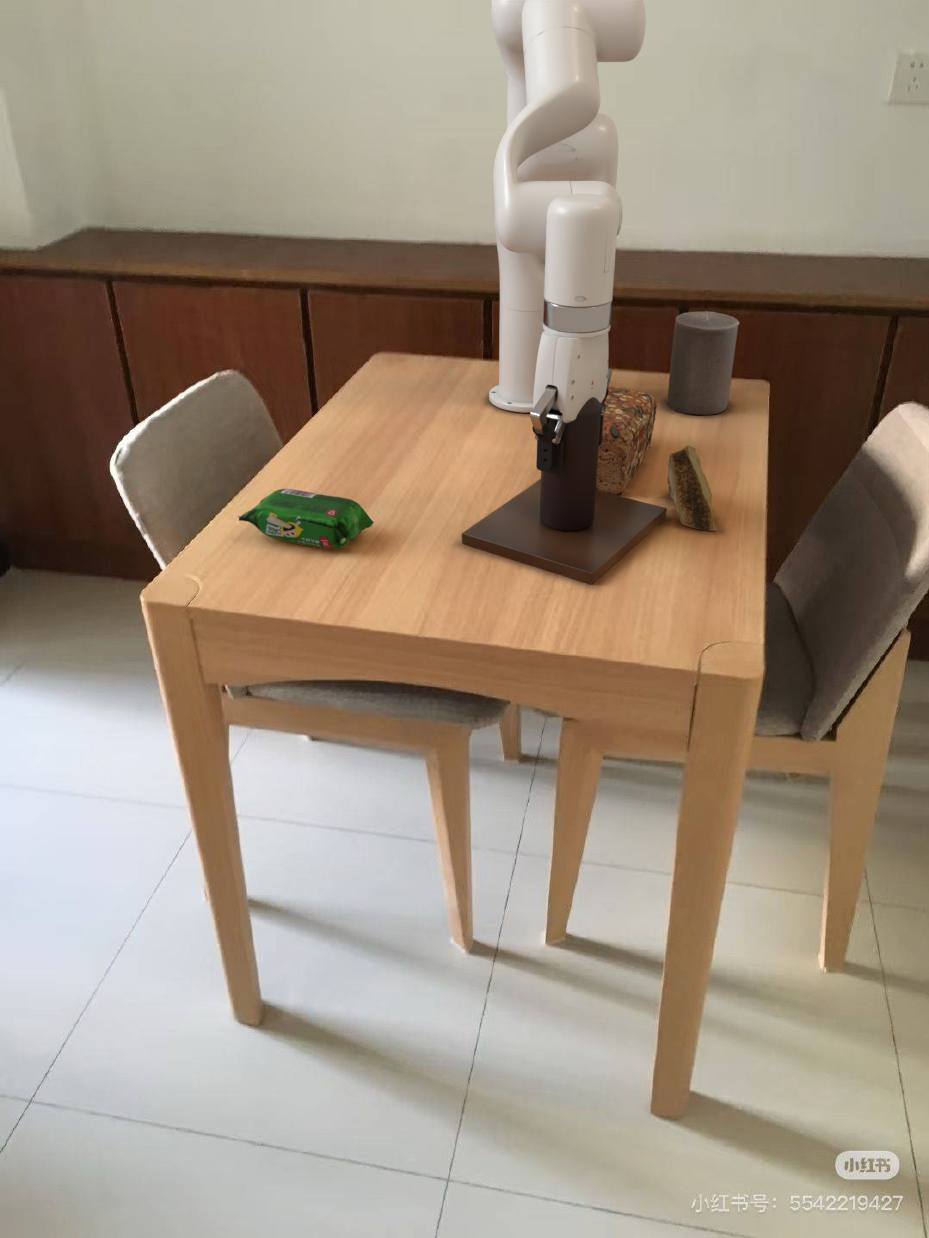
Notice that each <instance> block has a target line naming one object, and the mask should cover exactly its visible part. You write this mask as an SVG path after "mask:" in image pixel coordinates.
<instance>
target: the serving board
mask: <svg viewBox="0 0 929 1238" xmlns="http://www.w3.org/2000/svg"><path fill="white" fill-rule="evenodd" d="M540 491H541V478H540V479H538V480H537V481H536V482H534V483H533V484H531V485H529V486H528V487H527V488H525V489H524V490H523V491H521V492H519V493H518V494H517V495H515V496H513V498H511V499H509V500H508V501H506V502H505V503H504V504H502V505H501V506H499V507H497V508H496V509H495V510H493V511H491V513H489V514H487V515H486V516H485V517H483V518H482V519H480V520H479V521H478V522H476V523H475V524H473V525H472V526H470V527H469V528H467V529H466V530H464V531H463V532H462V533H461V544H462V545H465V546H468V547H471V548H474V549H476V550H477V549H478V550H481V551H483V552H487V553H490V554H494V555H496V556H500V557H503V558H507V559H510V560H513V561H515V562H519V563H522V564H525V565H527V566H528V565H529V566H531V567H535V568H537V569H540V570H544V571H548V572H551V573H554V574H557V575H561V576H562V577H563V576H564V577H567V578H569V579H573V580H576V581H578V582H582V583H584V584H589V585H593V584H595V582H597V581H598V580H599V579H600V578H601V577H602V576H604V575H605V574H606V573H607V572H608V571H609V570H610V569H611V568H613V566H614V565H616V564H617V563H618V562H619V561H621V560H622V559H623V558H624V557H625V556H626V555H627V554H628V553H630V552H631V551H632V550H633V549H634V548H635V547H636V546H638V544H640V543H641V542H642V541H643V540H644V539H645V538H646V537H647V536H648V535H649V534H651V533H652V532H653V530H655V529H656V528H658V526H659V525H661V524H662V523H663V522H664V521H665V520H667V515H668V512H667V511H668V508H667V507H663V506H659V505H656V504H652V503H648V502H644V501H641V500H637V499H633V498H630V497H626V496H622V495H619V494H611V493H607V492H603V491H599V490H596V495H595V510H594V521H593V522H592V524H591V525H590V526H588V527H586V528H584V529H581V530H576V531H561V530H556V529H552V528H550V527H548V526H546V525H545V524H543V523H542V521H541V520H540Z"/></svg>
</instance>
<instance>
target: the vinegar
mask: <svg viewBox="0 0 929 1238" xmlns="http://www.w3.org/2000/svg"><path fill="white" fill-rule="evenodd" d="M593 384H594V383H593V381H592V384H591V385H593ZM591 389H592V388H591ZM551 413H552V414H556V415H561V416H562V413H561V412H560V411H558V410H552V411H551ZM600 422H601V403H600V402H599V401H598V400H597V398H595V397H592V398H590V399H589V400H588V401H587V402H586V403H585V404H584V405H583V407H582V408H581V410H580V411H579V413H578V414H577V417H576V419H575V420H573V421H571V422H569V423H567V424H566V427H565V429H564V432H563V435H562V437H561V440H560V441H561V442H564V447H563V467H562V473H561V474H559V475H555V474H551V473H547V472H544V471H540V479H541V491H540V520H541V521H542V523H543V524H545V525H546V526H548V527H550V528H552V529H556V530H561V531H576V530H581V529H584V528H586V527H588V526H590V525H591V524H592V522H593V521H594V510H595V495H596V480H597V466H598V451H599V436H600ZM548 425H550V426H551V428H552V429H553V430H554V431H555V428H556V426H557V422H553V421H549V423H548Z"/></svg>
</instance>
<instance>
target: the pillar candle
mask: <svg viewBox="0 0 929 1238" xmlns="http://www.w3.org/2000/svg"><path fill="white" fill-rule="evenodd" d="M674 320H675V321H674V327H673V328H674V330H673V336H672V337H673V338H672V347H671V358H670V367H669V376H668V377H669V378H668V388H667V389H668V391H667V400H666V405H667V406H668V407H669V408H671V410H673V411H676V412H678V413H681V414H687V415H694V416H708V415H709V416H710V415H715V414H719V413H722V412H725V410H726V409H727V408H728V405H729V395H730V389H731V384H732V383H731V382H732V376H733V367H734V361H735V360H734V359H735V351H736V343H737V337H738V330H739V329H738V328H739V325H740V321H739V320H738V319H737V318H735V317H734V316H731V315H728V314H724V313H720V312H715V311H708V310H705V311H690V312H689V311H688V312H683V313H681V314H678V315H677V316H675V319H674Z"/></svg>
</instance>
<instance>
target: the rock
mask: <svg viewBox="0 0 929 1238" xmlns="http://www.w3.org/2000/svg"><path fill="white" fill-rule="evenodd" d="M698 455H699V454H697V450H696V447H694V446H692V445H691V444H687V445H686V446H685V447H683V448H682V449H680V450H678V451H675V452H672V453H669V457H668V458H669V459H668V461H667V486H668V493H669V496H670V498H671V499H672V501H673V504H674V506H675V508H676V513H677V515H678V518H679V521H680V524H682V525H683V526H686V527H689V528H693V529H696V530H700V531H711V532H717V530H718V528H717V526H715V516H714V513H713V503H712V502H713V494H712V490H711V488H710V486H709V483H708V480H707V479H708V478H707V476H706V475H705V472H704V471H703V468H702V463H701V460H700V457H699V456H698Z"/></svg>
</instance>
